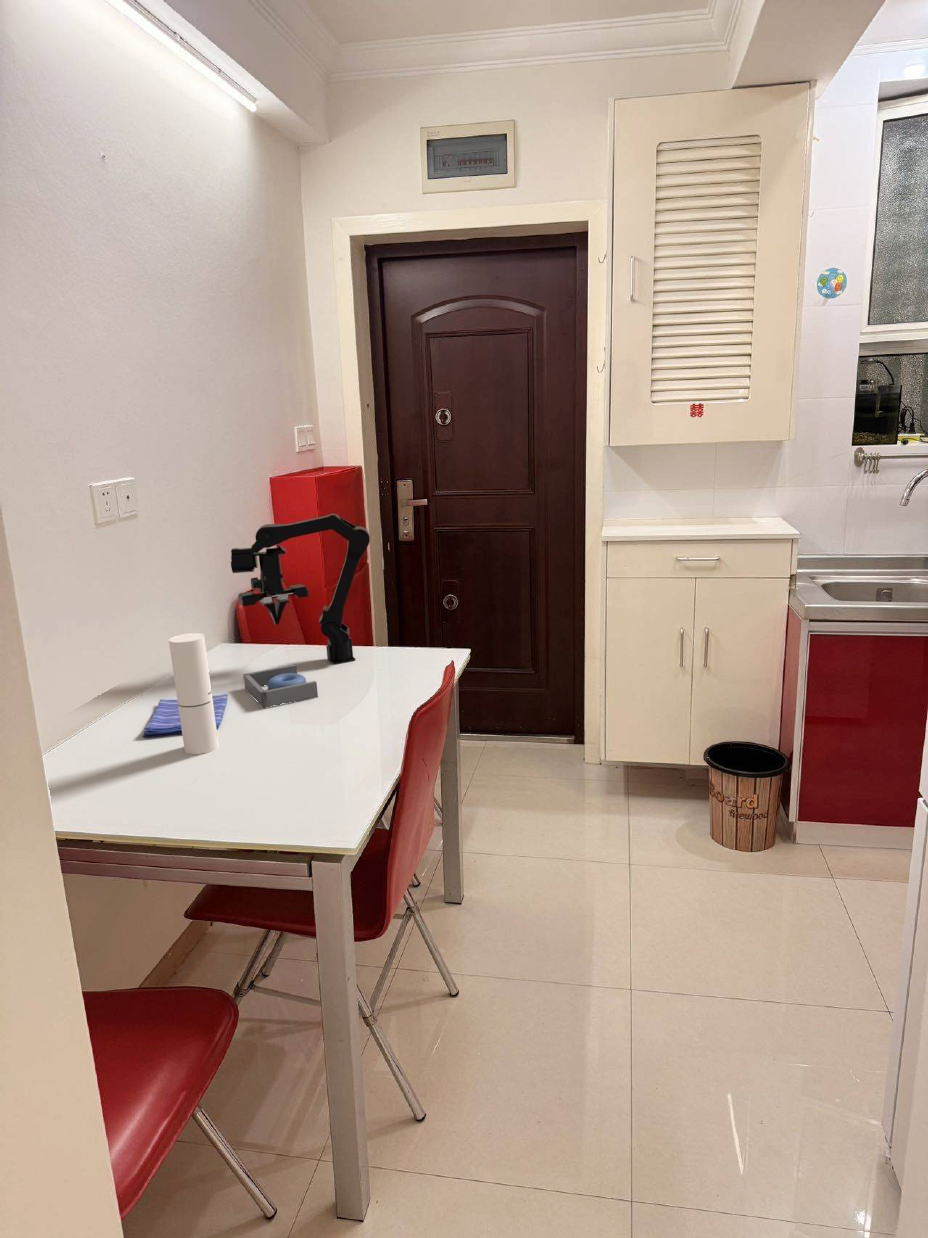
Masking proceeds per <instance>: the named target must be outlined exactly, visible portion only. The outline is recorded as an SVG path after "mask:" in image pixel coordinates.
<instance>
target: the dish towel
mask: <svg viewBox="0 0 928 1238" xmlns="http://www.w3.org/2000/svg"><path fill="white" fill-rule="evenodd" d="M228 697H229V696H228V694H219V695H212V699H213V707H214V714H215V722H216V729H217V730H219V728H220V725H221V723H222V721H223V717H224V714H225V710H226V706H227V702H228ZM157 703H158V704H157V706H156V710H155V711H154V713H153V715H152V717H151V718H150V720H149V722H148V723H147V725H146V726H145V727H144V730H145V731H144V732H143V734H142V737H143V738H146V739H148V738H149V739H150V738H159V737H168V736H177V735H182V728H181V721H180V715H179V708H178V701H177V699H165V698H163V699H159V701H158V702H157Z"/></svg>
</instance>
